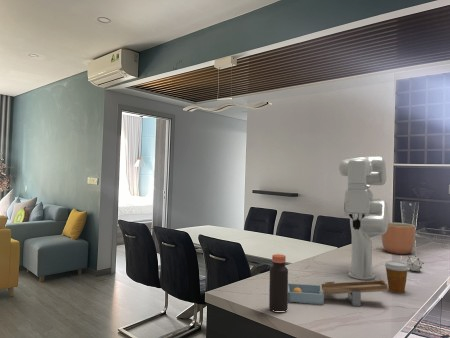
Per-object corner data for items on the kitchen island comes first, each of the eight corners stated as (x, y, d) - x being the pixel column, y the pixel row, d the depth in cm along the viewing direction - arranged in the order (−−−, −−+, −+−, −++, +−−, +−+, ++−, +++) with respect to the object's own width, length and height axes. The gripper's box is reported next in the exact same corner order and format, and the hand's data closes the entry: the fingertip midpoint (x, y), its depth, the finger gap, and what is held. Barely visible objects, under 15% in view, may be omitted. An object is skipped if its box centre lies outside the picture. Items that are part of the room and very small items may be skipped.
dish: (287, 292, 146) (287, 283, 146) (319, 294, 144) (319, 285, 144) (288, 302, 134) (288, 292, 134) (323, 304, 132) (323, 294, 132)
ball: (291, 289, 142) (298, 284, 141) (295, 296, 141) (303, 292, 141) (291, 292, 138) (299, 287, 138) (296, 299, 138) (304, 295, 137)
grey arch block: (347, 297, 141) (347, 283, 141) (355, 298, 141) (355, 284, 141) (352, 305, 132) (352, 291, 132) (360, 306, 131) (360, 291, 132)
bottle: (285, 306, 130) (286, 253, 131) (289, 313, 124) (289, 257, 124) (267, 306, 130) (268, 253, 131) (270, 313, 123) (271, 257, 124)
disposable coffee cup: (387, 285, 158) (387, 259, 158) (410, 290, 152) (410, 263, 152) (382, 291, 150) (382, 263, 151) (406, 296, 144) (406, 267, 144)
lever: (320, 286, 147) (319, 277, 148) (378, 283, 144) (377, 274, 144) (324, 297, 135) (323, 287, 135) (388, 294, 131) (387, 283, 131)
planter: (421, 256, 220) (421, 226, 221) (389, 255, 221) (389, 226, 221) (405, 249, 241) (405, 222, 241) (375, 249, 241) (375, 222, 242)
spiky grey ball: (411, 278, 183) (398, 262, 184) (415, 270, 189) (403, 254, 190) (426, 273, 177) (413, 257, 178) (430, 265, 183) (417, 249, 184)
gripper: (372, 187, 153) (371, 228, 153) (337, 186, 155) (337, 227, 155) (377, 188, 146) (376, 231, 145) (340, 187, 148) (340, 229, 148)
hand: (356, 229), depth 150 cm, fingers closed
